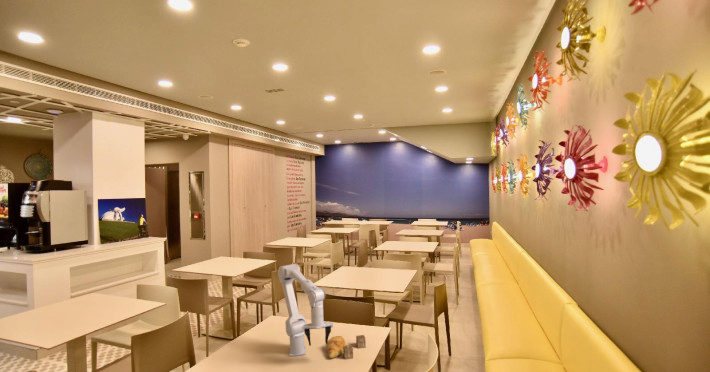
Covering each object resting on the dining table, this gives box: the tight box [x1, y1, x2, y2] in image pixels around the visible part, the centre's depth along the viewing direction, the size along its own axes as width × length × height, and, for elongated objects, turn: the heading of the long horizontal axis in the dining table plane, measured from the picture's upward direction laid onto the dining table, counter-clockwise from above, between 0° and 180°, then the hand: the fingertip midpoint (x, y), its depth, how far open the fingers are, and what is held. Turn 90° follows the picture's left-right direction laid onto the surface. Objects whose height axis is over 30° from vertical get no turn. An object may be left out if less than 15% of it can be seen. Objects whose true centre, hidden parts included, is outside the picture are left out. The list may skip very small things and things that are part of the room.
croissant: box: [325, 335, 347, 359], centre depth 186 cm, size 21×10×8 cm, turn 171°
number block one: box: [343, 344, 354, 361], centre depth 178 cm, size 4×4×5 cm
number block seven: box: [355, 334, 366, 349], centre depth 190 cm, size 4×4×5 cm
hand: (318, 343), depth 172 cm, fingers open, 7 cm apart
